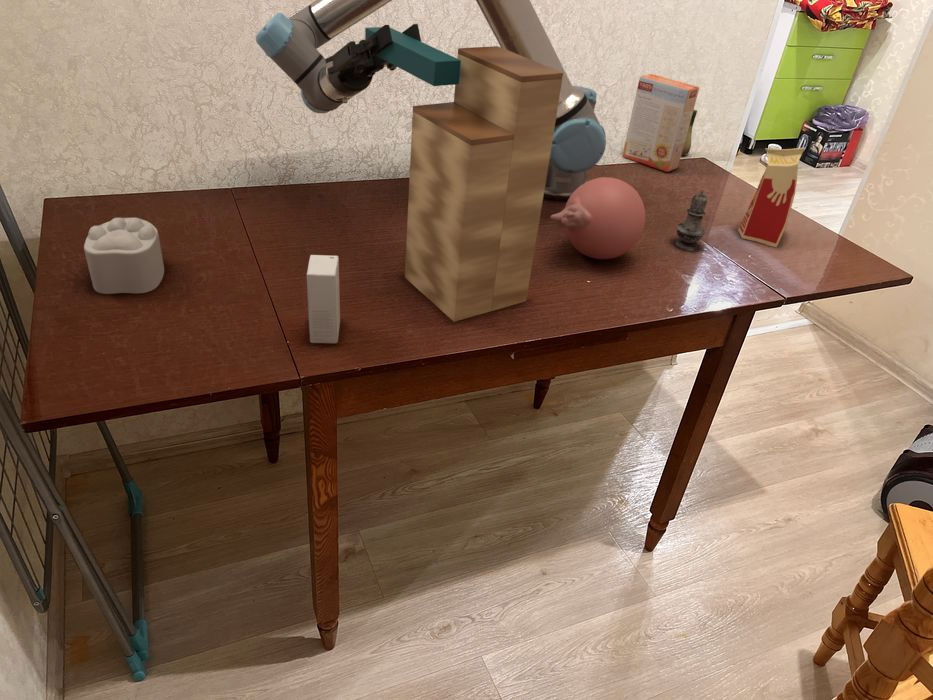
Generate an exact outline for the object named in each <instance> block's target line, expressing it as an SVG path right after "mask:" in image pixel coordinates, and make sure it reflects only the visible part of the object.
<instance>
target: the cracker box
mask: <svg viewBox="0 0 933 700" xmlns="http://www.w3.org/2000/svg"><path fill="white" fill-rule="evenodd" d="M699 91H700V86H697V85H693V84H689V83H686V82H682V81H679V80H675V79H672V78H669V77H668V78H667V77H664V76H660V75H658V74H657V75H656V74H653V73H648V74H645V75H641V76H639V80H638V84H637V88H636V93H635V97H634V101H633V105H632V110H631V115H630V119H629V123H628V128H627V133H626V138H625V142H624V146H623V151H622V157H623V158H626V159H628V160H631V161H634V162H637V163H640V164H642V165H646V166H648V167H652V168H654V169H657V170H659V171H663V172H665V173H669V172H672V171H674V170H677V169H678V168H679V166H680V162H681V158H682V156H683V155H682V151H683V147H684V144H685V140H686V136H687V132H688V129H689V125H690V121H691V117H692V114H693V110H695V106H696V102H697V98H698V94H699Z"/></svg>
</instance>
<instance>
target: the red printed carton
mask: <svg viewBox="0 0 933 700" xmlns="http://www.w3.org/2000/svg"><path fill="white" fill-rule="evenodd" d="M805 149H806V147H797V148H787V149H786V148H785V149H781V148H766V147H765V151H766V153H767V166H766V167H765V169H764V172H763V174H762V176H761V178H760V180H759V182H758V183H759V184H758V186H757V188H756V191H755V193H754V195H753V197H752V199H751V201H750V203H749V205H748V208H747V209H746V212H745V214H744V216H743V217H742V220H741V222H740V225H739V227H738V229H737V231H738V233H739V235H740V238H741V239H744V240H748V241H753V242H756V243H760V244H764V245H765V246H769V247H773V248H775V249H777V248H778V246H779V243H780V241H781V240H782V236H783V234H784V232H785V230H786V228H787V225H788V222H789V218H790V215H791V211H792V207H793V204H794V199H795V196H796V190H797V189H796V187H797V181H798V173H799V163H800V162H799V161H800V159H801V157H802V155H803V152H804V151H805Z"/></svg>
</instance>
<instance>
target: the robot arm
mask: <svg viewBox="0 0 933 700" xmlns="http://www.w3.org/2000/svg"><path fill="white" fill-rule="evenodd" d="M392 1H393V0H314V1H313V2H311V3H310V4H309V5H307V6H305V7H304V8H302V9H301V10H299V11H297V12H298V13H296V12H295V13H296V14H295V15H293V16H292V17H290V16H289V17H290V18H289V17H287V16H286V15H285V14H284V13H283V12H277V13H276V14H275V15H274V16H272V17H271V19H270V20H268V22H267V23H266V24H265V25H264V26H263V27H262V28H261V29H260V30H259V32H258V33H257V34H256V35H255V42H256V44H257V45H258V46H259V47H260V49H261V50H262V51H263V52H264V53H265V56H267V57H268V58H270V59H271V60H272V61H273V62H274V63H275V65H277V67H279V68H280V69H281V70H282V71H283V72H284V73H285V75H287V76H288V77H289V78H290V79H291V81H293V83H294V84H296V86H297V87H298V88H299V89H300V95H301V96H300V97H301V99H302V101H303V103H304V105H305V106H306V108H307V109H308V110H310V111H312V112H314V113H315V114H327V113H329V112H332V111H334V110H337V109H338V108H339V107H340V106H342V105H343V104H347V103H349V100H351V99H352V98H353V97H355V96H356V95H358V94H360V93H361V92H363V91H364V90H366V89H368V87H369V86H371V85H370V84H371V83H372V80H373V77H374V75H376V73H378V72H380V71H382V70H383V69H384V68H386V69H387V70H389V71H391V72H392V71H395V70H397V68H398V67H397V66H395V65H393V64H391V63H389V62H387V61H385V60H383V59H381V58H380V57H378V56H376V55H377V54H378V53H379V52H381V51H382V50H383V49H385V48H386V47H387V46H389V45H390V44H392V43H393V42H392V36H391V32H390V28H391V27H390V24H384V25H382V26H380V27H381V28H380V29H379V30H378V31H376V32H375V33H374V34H373V35H372V36H370V37H369V38H368V39H366V40H365V39H361V40H360V41H358V43H356V41H354V40H351V41H350V40H349V42H347V43H346V44H345V45H344V46H342V47H341V48H339V50H338V51H336V52H335V53H334V54H333V55H331V56H328V57H326V58H325V57H324V55H323V54H322V53H321V52H320V51H319V50H318V49H319V48H321V47H322V46H323V45H326V44H327V43H328V42H330V41H331V40H332V39H334V38H336V37H337V36H339V35H340V34H342V33H343V32H345V31H346V30H348V29H350V28H351V27H353V26H354V25H356V24H357V23H359V22H361V21H362V20H364V19H365V18H366V17H368V16H370V15H371V14H373V13H374V12H376V11H377V10H379V9H381V8H383V7H384V6H386V5H387V4H389V3H391V2H392ZM475 2H476V3H477V6H478V7H479V9H480V11H481V13H482V15H483V17H484V19H485V21H486V23H487V25H488V26H489V28H490V30H491V32H492V34H493V36H494V37H495V39H496V41H497V43H498V45H499V47H501V48H503V49H506V50H508V51H511V52H513V53H516V54H518V55H520V56H523V57H525V58H528V59H530V60H533V61H535V62H538V63H540V64H542V65H545V66H547V67H550V68H552V69H555V70H557V71H560V72H562V73H563V78H562V85H561V91H560V97H559V103H558V109H557V115H556V122H555V128H554V134H553V140H552V146H551V152H550V158H549V165H548V171H547V177H546V183H545V189H544V195H543V199H548V200H553V201H568V199H569V198H570V196H571V195H572V193H573V192H574V191H575V190H576V189H577V188H578V187H580V186H581V185H582V184H584V183H586V182H587V181H588V176H587V171H589V170H590V169H592V168H593V167H595V166H596V165H597V164H598V163H599V162H600V160H601V159H602V157H603V155H604V153H605V150H606V147H607V137H606V135H607V134H606V131H605V129H604V127H603V126H602V125H601V123H600V120H599V119H598V117H597V115H596V113H595V108H596V105H597V92H596V91H595V90H593V89H591V88H588V87H584V86H579V85H573V84H572V83H571V80H570V78H569V76H568V75H567V72H566V70H565V69H564V66H563V64H562V62H561V61H560V58H559V56H558V54H557V52H556V50H555V48H554V46H553V43H552V42H551V40H550V39H549V36H548V34H547V32H546V30H545V28H544V26H543V24H542V22H541V20H540V18H539V16H538V13H537V11H536V10H535V8H534V6H533V4H532V2H531V0H475ZM288 18H289V19H288ZM401 33H403V34H405V35H407V36H410V37H412V38H414V39H416V40H418V41H420V42H422V39H421V33H420V28H419V24H418V23H413V24H411V25H410V26H409V27H407V28H406V29H405V30H404V31H402V32H401ZM370 52H371V53H370Z"/></svg>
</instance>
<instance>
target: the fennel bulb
mask: <svg viewBox="0 0 933 700" xmlns="http://www.w3.org/2000/svg"><path fill="white" fill-rule="evenodd" d="M697 114H698V109H694V110H693V114H692V117H691V121H690V125H689V129H688V132H687V136H686V140H685V144H684V147H683V151H682V155H681V156H686V155H688V154H689V153H690V150H691V148H692V136H693V135H692V134H693V127H694V123H695V120H696V118H697V117H696V116H697Z"/></svg>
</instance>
